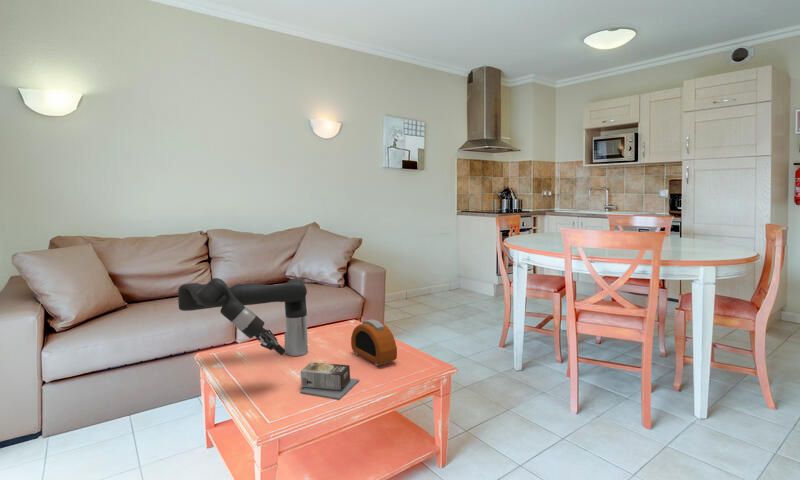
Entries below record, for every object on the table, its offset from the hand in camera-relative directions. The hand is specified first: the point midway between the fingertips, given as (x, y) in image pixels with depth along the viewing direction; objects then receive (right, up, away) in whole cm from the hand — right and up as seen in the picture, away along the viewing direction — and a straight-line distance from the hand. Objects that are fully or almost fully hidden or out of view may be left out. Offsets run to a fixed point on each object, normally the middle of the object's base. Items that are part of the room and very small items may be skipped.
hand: (283, 352), depth 162 cm
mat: (+18, -12, -1) cm, 22 cm away
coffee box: (+8, -8, +2) cm, 12 cm away
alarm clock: (+32, -10, +27) cm, 43 cm away
